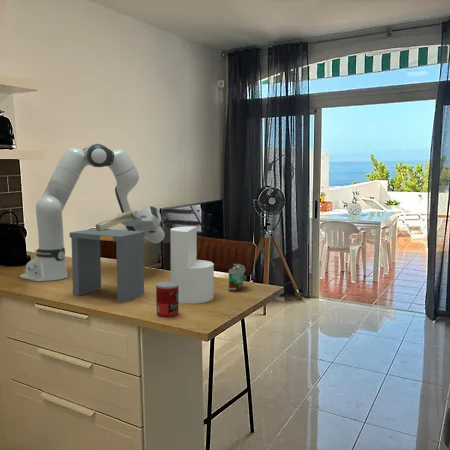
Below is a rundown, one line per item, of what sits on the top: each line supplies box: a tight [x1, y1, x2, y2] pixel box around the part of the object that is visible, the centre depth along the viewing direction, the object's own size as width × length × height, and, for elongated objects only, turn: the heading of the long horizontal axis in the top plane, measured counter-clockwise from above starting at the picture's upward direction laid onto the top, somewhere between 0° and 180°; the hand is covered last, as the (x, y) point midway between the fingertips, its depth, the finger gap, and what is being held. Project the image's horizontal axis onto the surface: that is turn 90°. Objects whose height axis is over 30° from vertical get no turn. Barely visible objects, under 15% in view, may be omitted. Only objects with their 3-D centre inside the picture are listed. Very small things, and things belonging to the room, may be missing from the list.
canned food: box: [155, 281, 179, 318], centre depth 161 cm, size 8×8×11 cm
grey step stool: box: [69, 227, 145, 304], centre depth 184 cm, size 25×16×26 cm, turn 67°
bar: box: [95, 209, 138, 231], centre depth 198 cm, size 3×26×2 cm, turn 157°
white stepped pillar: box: [170, 225, 215, 305], centre depth 181 cm, size 17×17×28 cm
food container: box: [228, 263, 246, 293], centre depth 196 cm, size 12×6×10 cm, turn 168°
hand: (128, 212), depth 205 cm, fingers closed on bar, 3 cm apart
